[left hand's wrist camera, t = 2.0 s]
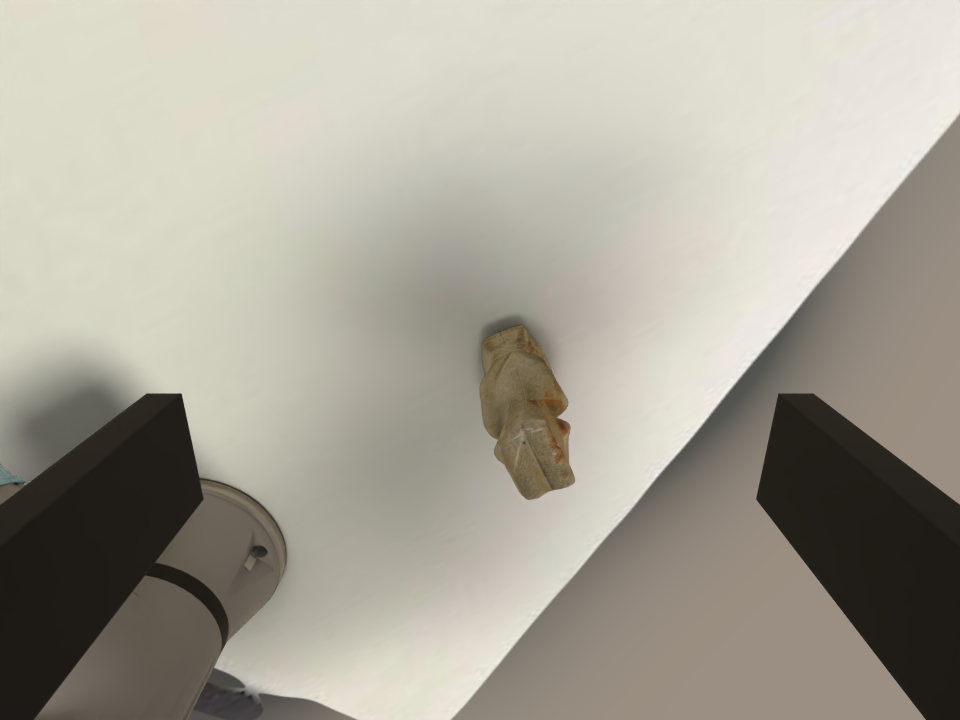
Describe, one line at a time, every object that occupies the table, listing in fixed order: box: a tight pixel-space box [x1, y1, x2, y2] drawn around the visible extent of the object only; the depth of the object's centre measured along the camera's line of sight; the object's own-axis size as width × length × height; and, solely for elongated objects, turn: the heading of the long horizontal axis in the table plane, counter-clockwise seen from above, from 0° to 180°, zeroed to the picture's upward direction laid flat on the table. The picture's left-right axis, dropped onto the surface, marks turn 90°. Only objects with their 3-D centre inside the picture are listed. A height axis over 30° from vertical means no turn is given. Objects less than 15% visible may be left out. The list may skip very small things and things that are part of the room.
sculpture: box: [480, 325, 575, 500], centre depth 39 cm, size 6×7×15 cm
